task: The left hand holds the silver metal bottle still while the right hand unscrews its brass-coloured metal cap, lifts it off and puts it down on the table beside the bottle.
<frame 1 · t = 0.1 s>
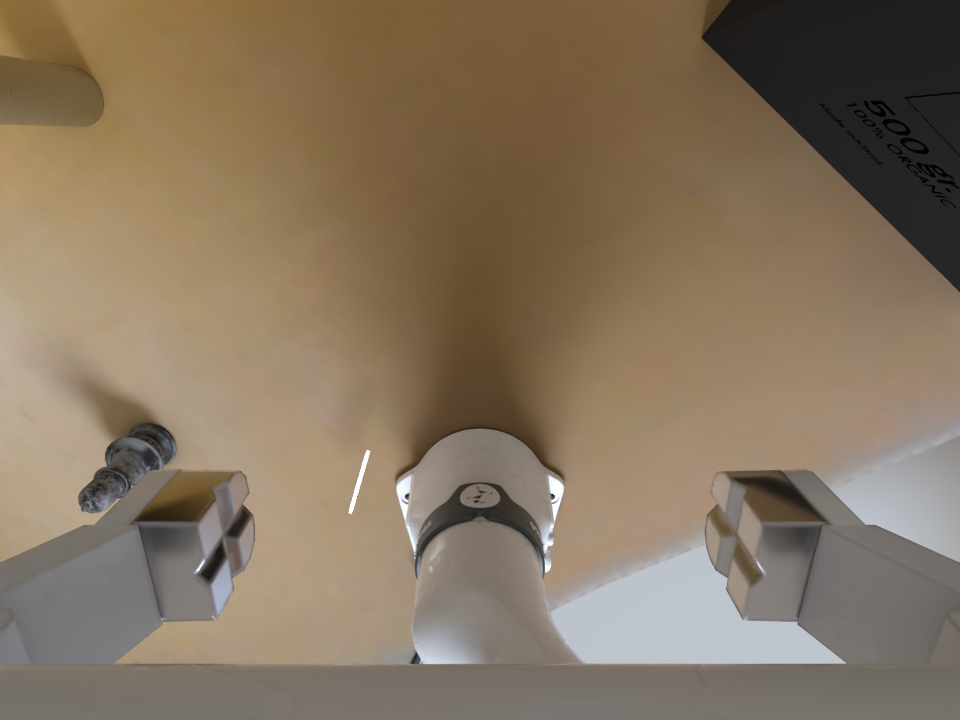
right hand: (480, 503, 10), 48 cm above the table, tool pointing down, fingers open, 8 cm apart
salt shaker: (152, 444, 64), on the table
black box: (934, 83, 51), on the table
bottle: (75, 97, 52), on the table
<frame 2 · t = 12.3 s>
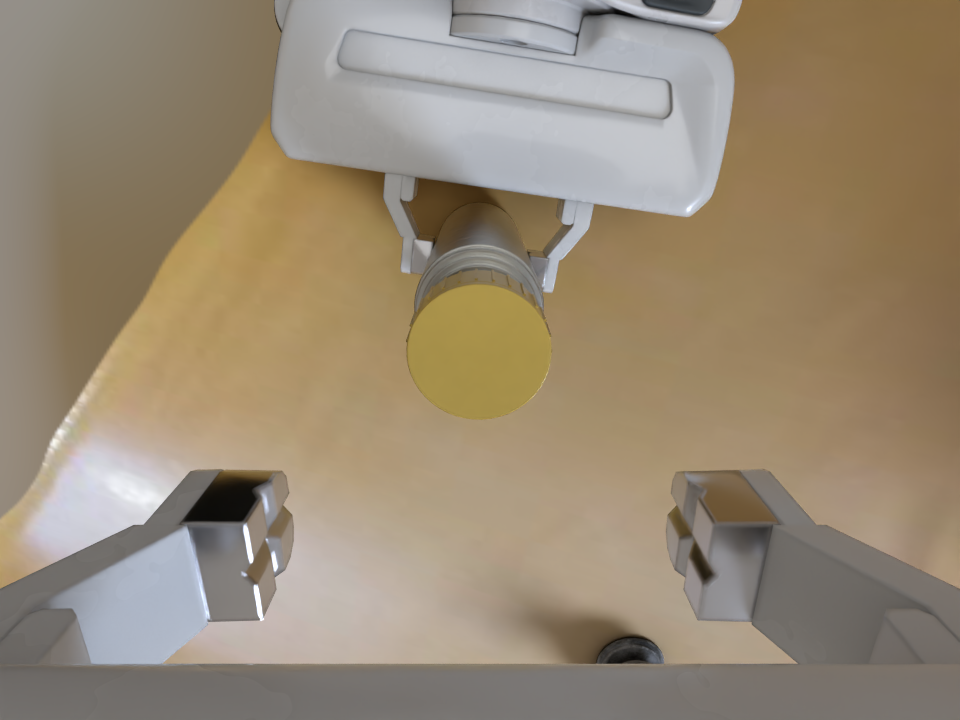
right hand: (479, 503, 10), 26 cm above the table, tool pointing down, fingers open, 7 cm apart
left hand: (477, 280, 30), fingers closed on bottle, 5 cm apart
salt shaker: (629, 661, 46), on the table
cap: (479, 351, 17), point 18 cm above the table, screwed on, not yet turned
bottle: (479, 244, 34), on the table, touching left hand
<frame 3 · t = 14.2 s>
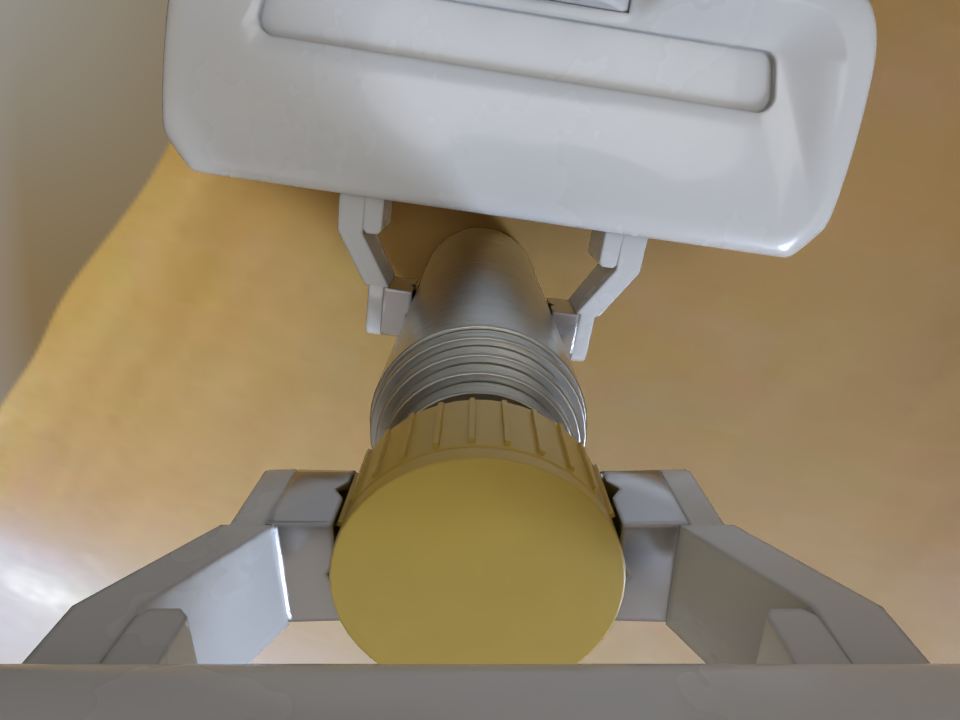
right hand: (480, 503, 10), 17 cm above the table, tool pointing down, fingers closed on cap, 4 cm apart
left hand: (476, 343, 21), fingers closed on bottle, 5 cm apart
cap: (477, 572, 9), point 18 cm above the table, screwed on, not yet turned, touching right hand
bottle: (479, 282, 26), on the table, touching left hand
when the right hand's fingers open (2 cm above the table, at t = 35.9 s): cap drops 2 cm, point 2 cm above the table.
when the left hand's fingers open (5 cm above the table, at t = 37.1 s): bottle stays where it is, on the table.
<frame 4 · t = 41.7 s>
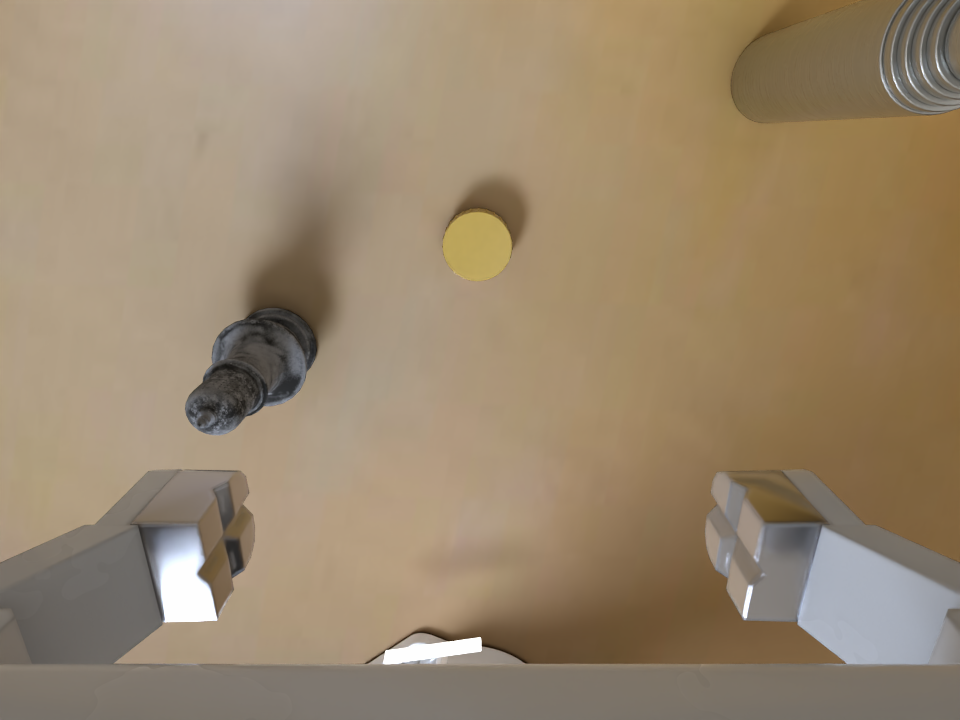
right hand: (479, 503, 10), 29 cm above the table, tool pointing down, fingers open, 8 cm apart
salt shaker: (278, 344, 40), on the table
cap: (477, 246, 36), point 2 cm above the table, off its thread
bottle: (772, 78, 34), on the table
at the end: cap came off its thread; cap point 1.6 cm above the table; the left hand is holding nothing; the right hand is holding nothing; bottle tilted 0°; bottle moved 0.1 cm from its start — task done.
